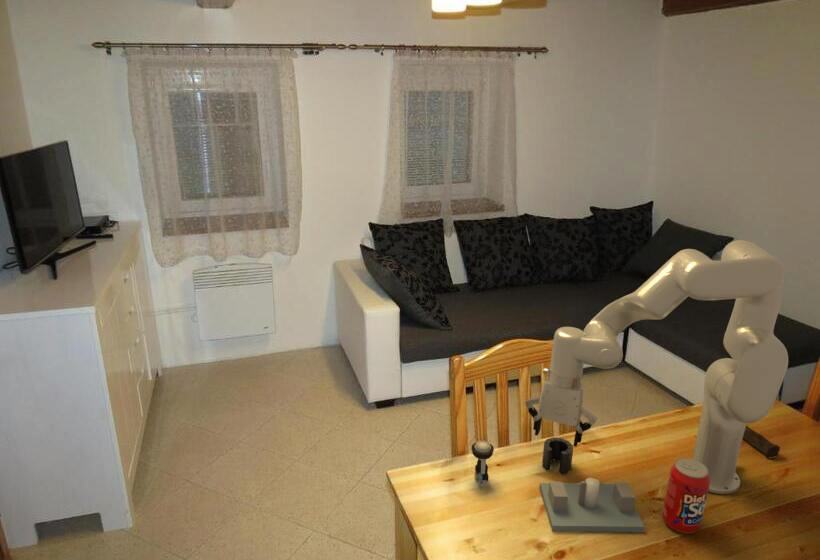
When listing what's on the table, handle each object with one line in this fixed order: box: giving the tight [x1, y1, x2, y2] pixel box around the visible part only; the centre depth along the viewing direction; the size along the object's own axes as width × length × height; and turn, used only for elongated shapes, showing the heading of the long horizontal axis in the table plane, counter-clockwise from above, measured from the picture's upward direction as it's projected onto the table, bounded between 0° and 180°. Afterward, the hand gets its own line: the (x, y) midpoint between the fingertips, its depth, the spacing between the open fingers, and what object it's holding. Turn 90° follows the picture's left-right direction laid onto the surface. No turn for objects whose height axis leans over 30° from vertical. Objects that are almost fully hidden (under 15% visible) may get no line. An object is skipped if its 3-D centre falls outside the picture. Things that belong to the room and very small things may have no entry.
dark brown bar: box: [743, 425, 781, 459], centre depth 160 cm, size 19×4×5 cm, turn 13°
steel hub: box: [541, 436, 574, 476], centre depth 148 cm, size 7×7×6 cm
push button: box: [470, 439, 495, 489], centre depth 142 cm, size 7×5×10 cm
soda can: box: [661, 457, 710, 534], centre depth 128 cm, size 8×8×15 cm
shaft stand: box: [539, 477, 646, 533], centre depth 133 cm, size 20×14×8 cm
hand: (556, 438), depth 146 cm, fingers open, 9 cm apart
